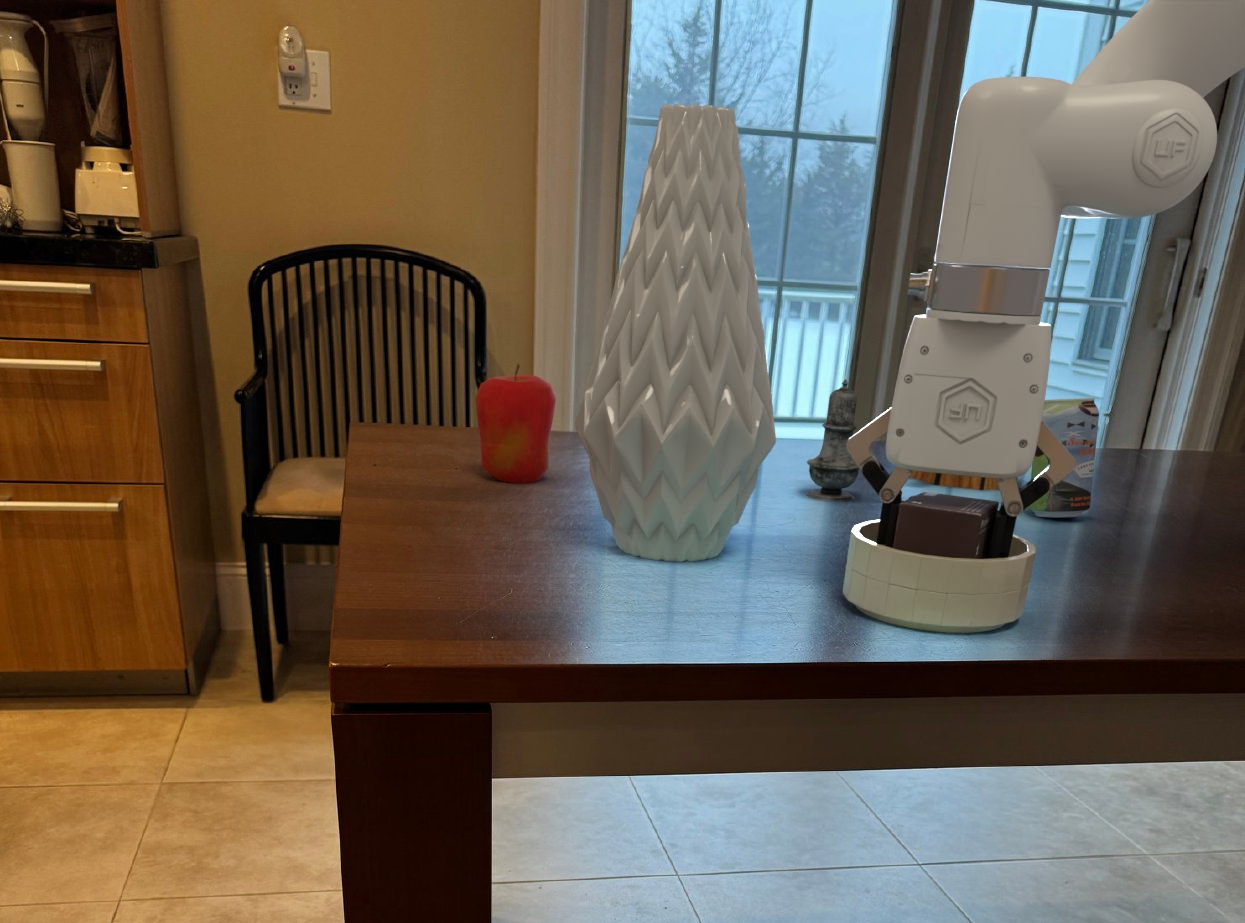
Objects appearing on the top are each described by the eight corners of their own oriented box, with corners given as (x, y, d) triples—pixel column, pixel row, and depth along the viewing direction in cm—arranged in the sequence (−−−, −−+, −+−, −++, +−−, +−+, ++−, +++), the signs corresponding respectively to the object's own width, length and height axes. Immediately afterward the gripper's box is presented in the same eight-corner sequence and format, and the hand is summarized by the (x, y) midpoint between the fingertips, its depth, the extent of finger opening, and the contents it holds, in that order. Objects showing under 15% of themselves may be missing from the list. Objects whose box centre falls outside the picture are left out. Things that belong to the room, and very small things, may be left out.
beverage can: (1068, 527, 119) (1096, 402, 113) (1004, 513, 124) (1028, 392, 118) (1098, 520, 123) (1126, 399, 117) (1035, 507, 127) (1059, 390, 122)
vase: (580, 523, 110) (593, 112, 95) (757, 534, 109) (799, 122, 94) (561, 567, 95) (574, 88, 80) (767, 580, 94) (819, 100, 79)
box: (962, 617, 85) (982, 514, 81) (882, 602, 87) (897, 502, 84) (982, 598, 89) (1001, 500, 86) (905, 585, 92) (921, 489, 89)
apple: (516, 469, 132) (517, 357, 127) (570, 481, 128) (574, 365, 122) (459, 477, 126) (458, 360, 121) (514, 490, 122) (515, 368, 116)
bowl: (1019, 600, 93) (1034, 530, 90) (1020, 647, 81) (1037, 569, 79) (852, 579, 96) (862, 511, 93) (831, 622, 85) (841, 546, 82)
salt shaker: (842, 505, 123) (858, 383, 118) (793, 496, 126) (806, 377, 121) (867, 498, 127) (884, 380, 122) (819, 489, 131) (833, 374, 125)
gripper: (850, 290, 78) (816, 558, 86) (1127, 307, 73) (1063, 587, 82) (862, 287, 84) (829, 537, 92) (1118, 303, 80) (1060, 563, 88)
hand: (940, 559), depth 87 cm, fingers closed on box, 6 cm apart
